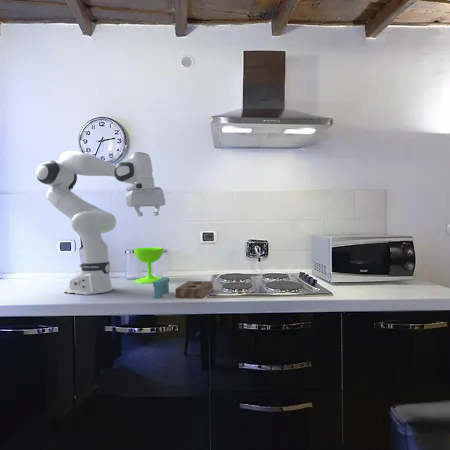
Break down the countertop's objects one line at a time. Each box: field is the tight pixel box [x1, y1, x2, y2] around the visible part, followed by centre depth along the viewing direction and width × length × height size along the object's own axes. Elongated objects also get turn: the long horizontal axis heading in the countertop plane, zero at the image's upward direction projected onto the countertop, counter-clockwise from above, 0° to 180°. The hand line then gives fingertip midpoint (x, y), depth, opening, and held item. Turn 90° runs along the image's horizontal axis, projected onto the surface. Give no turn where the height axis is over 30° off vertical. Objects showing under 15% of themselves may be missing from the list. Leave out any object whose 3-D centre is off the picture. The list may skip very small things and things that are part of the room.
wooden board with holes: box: [174, 280, 213, 299], centre depth 162 cm, size 12×18×4 cm, turn 168°
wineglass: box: [133, 246, 164, 285], centre depth 198 cm, size 16×16×18 cm
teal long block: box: [152, 277, 171, 299], centre depth 160 cm, size 3×12×7 cm, turn 168°
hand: (148, 215), depth 166 cm, fingers open, 8 cm apart
